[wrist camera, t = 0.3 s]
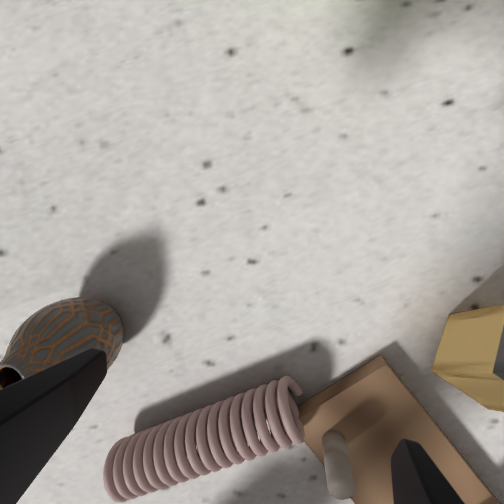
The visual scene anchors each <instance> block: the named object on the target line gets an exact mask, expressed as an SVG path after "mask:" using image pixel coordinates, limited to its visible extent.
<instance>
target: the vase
mask: <svg viewBox="0 0 504 504" xmlns="http://www.w3.org/2000/svg"><path fill="white" fill-rule="evenodd" d="M122 343H123V327H122V323H121V320H120V318H119V316H118V315H117V313H116V312H115V311H114V310H113V309H112V308H111V307H110V306H109V305H107V304H105V303H104V302H102V301H100V300H97V299H92V298H85V297H77V298H69V299H65V300H61V301H58V302H55V303H52V304H50V305H48V306H46V307H44V308H42V309H40V310H39V311H37V312H36V313H34V314H33V315H32V316H30V317H29V318H28V319H27V320H26V321H25V322H24V323H23V324H22V325H21V326H20V327H19V328H18V329H17V331H16V332H15V334H14V335H13V337H12V339H11V341H10V343H9V346H8V348H7V351H6V354H5V356H4V358H3V359H2V361H1V362H0V390H1V389H3V388H5V387H7V386H9V385H11V384H14V383H16V382H18V381H20V380H22V379H25V378H27V377H29V376H31V375H33V374H35V373H38V372H40V371H42V370H44V369H46V368H48V367H51V366H53V365H55V364H57V363H59V362H61V361H64V360H66V359H68V358H70V357H72V356H74V355H77V354H79V353H81V352H83V351H85V350H87V349H90V348H93V347H95V348H99V349H103V350H105V351H106V353H107V369H108V368H109V367H110V366H111V365H112V364H113V362H114V361H115V359H116V358H117V356H118V354H119V352H120V349H121V346H122Z"/></svg>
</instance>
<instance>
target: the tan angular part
mask: <svg viewBox="0 0 504 504" xmlns="http://www.w3.org/2000/svg"><path fill="white" fill-rule="evenodd" d="M431 371H432V372H434V373H435V374H437V375H438V376H440V377H441V378H443V379H444V380H446V381H447V382H449V383H450V384H452V385H453V386H455V387H456V388H458V389H459V390H461V391H462V392H463V393H465V394H466V395H468V396H469V397H471V398H472V399H474V400H475V401H477V402H478V403H480V404H481V405H483V406H484V407H486V408H487V409H489V410H496V411H502V412H504V305H498V306H493V307H487V308H482V309H476V310H471V311H465V312H460V313H454V314H449V316H448V319H447V323H446V326H445V329H444V332H443V335H442V338H441V341H440V344H439V347H438V350H437V353H436V356H435V360H434V363H433V366H432V369H431Z"/></svg>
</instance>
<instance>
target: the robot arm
mask: <svg viewBox="0 0 504 504" xmlns="http://www.w3.org/2000/svg"><path fill="white" fill-rule="evenodd" d="M106 373H107V353H106V351H105V350H103V349H99V348H95V347H93V348H90V349H87V350H85V351H83V352H81V353H79V354H77V355H74V356H72V357H70V358H68V359H66V360H64V361H61V362H59V363H57V364H55V365H53V366H51V367H48V368H46V369H44V370H42V371H40V372H38V373H35V374H33V375H31V376H29V377H27V378H25V379H22V380H20V381H18V382H16V383H14V384H11V385H9V386H7V387H5V388H3V389H1V390H0V504H16V503H17V502H18V500H19V499H20V498H21V496H22V495H23V494H24V492H25V491H26V490H27V488H28V487H29V486H30V484H31V483H32V482H33V480H34V479H35V478H36V476H37V475H38V474H39V473H40V471H41V470H42V469H43V467H44V466H45V465H46V463H47V462H48V461H49V459H50V458H51V457H52V455H53V454H54V453H55V451H56V450H57V449H58V447H59V446H60V445H61V443H62V442H63V441H64V439H65V438H66V437H67V435H68V434H69V433H70V431H71V430H72V429H73V427H74V426H75V424H76V423H77V421H78V420H79V418H80V417H81V415H82V413H83V412H84V410H85V409H86V407H87V405H88V404H89V402H90V401H91V399H92V397H93V396H94V394H95V392H96V391H97V389H98V388H99V386H100V384H101V383H102V381H103V380H104V378H105V376H106ZM390 464H391V477H392V490H393V502H394V504H465V503H464V502H463V500H462V499H461V498H460V496H459V495H458V494H457V492H456V491H455V490H454V488H453V487H452V486H451V484H450V483H449V482H448V480H447V479H446V478H445V476H444V475H443V473H442V472H441V471H440V469H439V468H438V467H437V465H436V464H435V463H434V461H433V460H432V459H431V457H430V456H429V455H428V453H427V452H426V451H425V449H424V448H423V447H422V445H421V444H420V443H419V442H417V441H415V440H411V439H408V438H402V439H401V440H400V441H399V443H398V445H397V446H396V448H395V450H394V452H393V454H392V456H391V463H390Z"/></svg>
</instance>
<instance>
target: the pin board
mask: <svg viewBox="0 0 504 504" xmlns="http://www.w3.org/2000/svg"><path fill="white" fill-rule="evenodd" d="M297 408H298V410H299V417H298V419H299V420H301V421H302V423H303V427H304V433H305V436H304V442H305V443H306V444H307V446H308V447H309V448H310V449H311V450H312V452H313V453H314V454H315V455H316V457H317V458H318V459H319V460H320V461H321V463H322V464H323V465H324V466H325V473H326V482H327V489H328V492H329V493H330V494H331V495H332V496H333V497H335V498H337V499H348V498H351V499H352V500H353V502H354V503H355V504H394V502H393V490H392V477H391V464H390V463H391V456H392V454H393V452H394V450H395V448H396V446H397V445H398V443H399V441H400V440H401V439H402V438H408V439H411V440H415V441H417V442H419V443H420V444H421V445H422V447H423V448H424V449H425V451H426V452H427V453H428V455H429V456H430V457H431V459H432V460H433V461H434V463H435V464H436V465H437V467H438V468H439V469H440V471H441V472H442V473H443V475H444V476H445V478H446V479H447V480H448V482H449V483H450V484H451V486H452V487H453V488H454V490H455V491H456V492H457V494H458V495H459V496H460V498H461V499H462V500H463V502H464V503H465V504H500V502H499V501H498V500H497V499H496V498H495V496H494V495H493V494H492V493H491V491H490V490H489V489H488V488H487V486H486V485H485V484H484V483H483V481H482V480H481V479H480V478H479V476H478V475H477V474H476V473H475V471H474V470H473V469H472V468H471V466H470V465H469V464H468V463H467V461H466V460H465V459H464V458H463V456H462V455H461V454H460V453H459V451H458V450H457V449H456V448H455V447H454V445H453V444H452V443H451V442H450V440H449V439H448V438H447V437H446V435H445V434H444V433H443V432H442V430H441V429H440V428H439V427H438V425H437V424H436V423H435V422H434V420H433V419H432V418H431V417H430V415H429V414H428V413H427V412H426V410H425V409H424V408H423V407H422V405H421V404H420V403H419V402H418V400H417V399H416V398H415V397H414V396H413V394H412V393H411V392H410V391H409V389H408V388H407V387H406V386H405V384H404V383H403V382H402V381H401V379H400V378H399V377H398V376H397V374H396V373H395V372H394V371H393V369H392V368H391V367H390V366H389V364H388V363H387V362H386V361H385V359H384V358H383V357H382V356H381V355H379V356H377V357H376V358H374V359H373V360H371V361H370V362H368V363H366V364H365V365H363V366H362V367H360V368H358V369H357V370H355V371H354V372H352V373H351V374H349V375H347V376H346V377H344V378H343V379H341V380H339V381H338V382H336V383H335V384H333V385H331V386H330V387H328V388H327V389H325V390H324V391H322V392H320V393H319V394H317V395H316V396H314V397H312V398H311V399H309V400H308V401H306V402H305V403H303V404H301V405H300V406H298V407H297Z"/></svg>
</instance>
